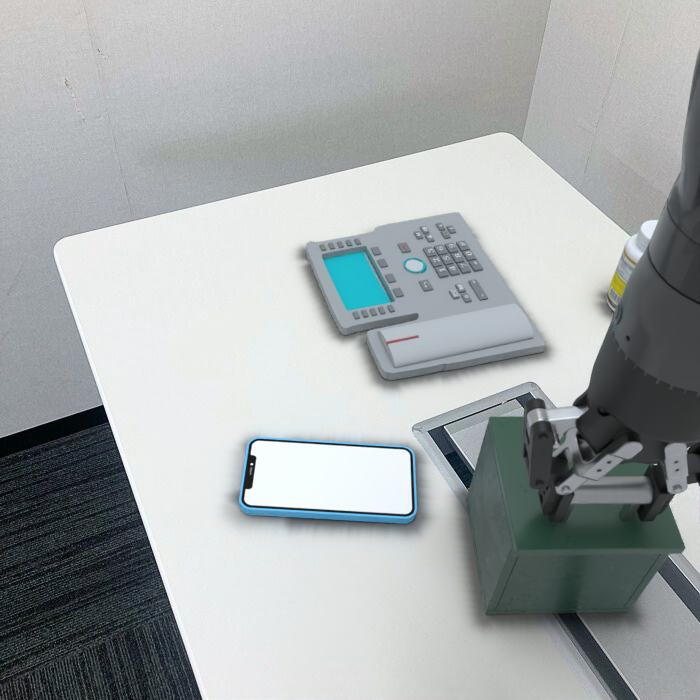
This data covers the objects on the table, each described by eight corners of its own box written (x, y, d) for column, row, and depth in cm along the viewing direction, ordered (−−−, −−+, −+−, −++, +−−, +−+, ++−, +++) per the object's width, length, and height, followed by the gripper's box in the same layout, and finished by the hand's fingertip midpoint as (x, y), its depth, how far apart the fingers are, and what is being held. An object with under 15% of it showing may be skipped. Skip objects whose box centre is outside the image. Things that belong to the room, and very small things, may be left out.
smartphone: (417, 519, 63) (237, 508, 63) (415, 526, 64) (238, 516, 63) (414, 446, 68) (248, 436, 68) (412, 454, 69) (248, 444, 69)
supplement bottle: (660, 299, 85) (694, 226, 77) (648, 329, 81) (682, 255, 74) (612, 282, 87) (640, 208, 79) (598, 310, 83) (626, 236, 76)
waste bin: (628, 612, 59) (677, 543, 51) (485, 614, 58) (512, 545, 51) (594, 498, 66) (632, 422, 58) (466, 499, 66) (487, 423, 58)
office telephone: (552, 335, 77) (366, 375, 72) (546, 352, 79) (364, 392, 74) (460, 202, 91) (301, 228, 87) (456, 219, 93) (301, 246, 88)
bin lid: (681, 554, 51) (710, 514, 47) (514, 556, 50) (531, 516, 46) (632, 422, 58) (654, 379, 55) (487, 422, 58) (499, 379, 54)
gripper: (568, 389, 36) (501, 563, 48) (860, 389, 36) (721, 560, 49) (535, 284, 41) (482, 465, 53) (791, 285, 42) (681, 463, 54)
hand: (597, 509), depth 51 cm, fingers closed on bin lid, 5 cm apart
